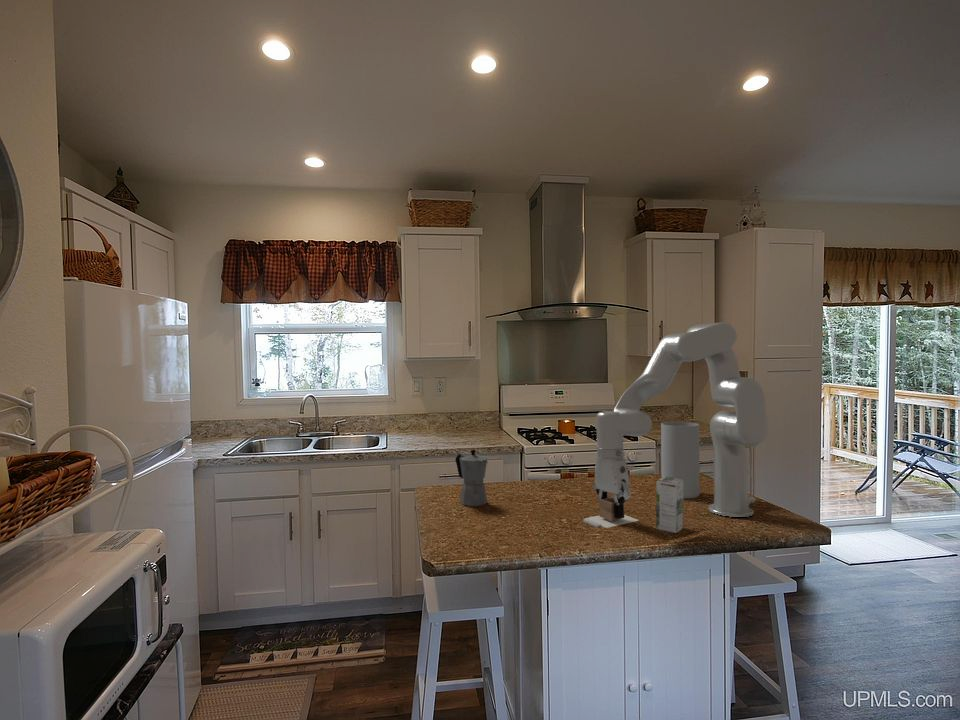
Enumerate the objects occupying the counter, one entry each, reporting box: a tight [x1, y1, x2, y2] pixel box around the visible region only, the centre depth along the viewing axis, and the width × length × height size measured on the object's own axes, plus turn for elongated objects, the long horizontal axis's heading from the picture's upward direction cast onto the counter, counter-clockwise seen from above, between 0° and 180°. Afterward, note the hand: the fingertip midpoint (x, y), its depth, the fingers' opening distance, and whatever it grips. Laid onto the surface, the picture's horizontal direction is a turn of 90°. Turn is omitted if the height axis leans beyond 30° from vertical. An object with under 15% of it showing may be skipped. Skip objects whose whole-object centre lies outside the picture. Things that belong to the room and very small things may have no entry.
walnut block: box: [598, 496, 625, 521], centre depth 148 cm, size 5×5×5 cm
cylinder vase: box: [660, 421, 701, 500], centre depth 178 cm, size 12×12×25 cm
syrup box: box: [655, 477, 684, 534], centre depth 140 cm, size 6×6×14 cm
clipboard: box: [582, 514, 640, 529], centre depth 148 cm, size 16×12×1 cm
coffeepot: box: [455, 448, 489, 507], centre depth 171 cm, size 15×9×18 cm, turn 44°
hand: (611, 514), depth 148 cm, fingers closed on walnut block, 5 cm apart
